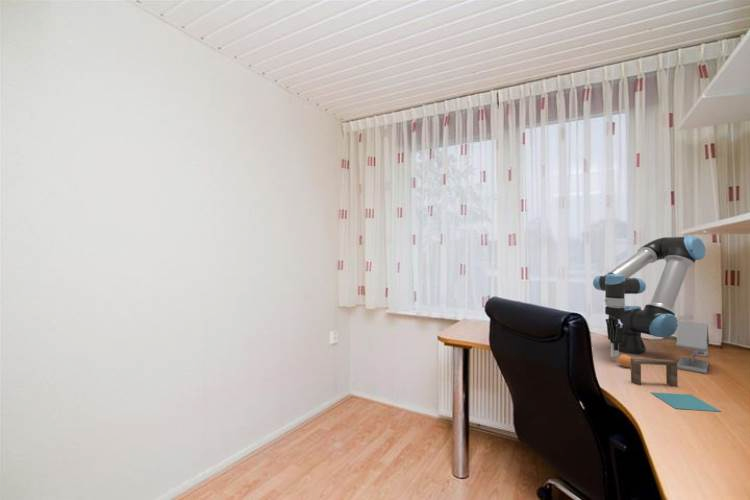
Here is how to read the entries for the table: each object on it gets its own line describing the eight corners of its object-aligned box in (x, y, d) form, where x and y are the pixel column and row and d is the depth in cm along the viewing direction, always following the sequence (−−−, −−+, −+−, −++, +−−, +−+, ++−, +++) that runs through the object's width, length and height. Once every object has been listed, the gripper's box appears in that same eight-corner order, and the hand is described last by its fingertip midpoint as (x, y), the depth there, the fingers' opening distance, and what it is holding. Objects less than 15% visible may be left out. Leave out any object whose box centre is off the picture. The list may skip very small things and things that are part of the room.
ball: (615, 364, 155) (615, 352, 155) (628, 365, 154) (628, 353, 154) (622, 368, 150) (621, 356, 150) (635, 369, 149) (635, 356, 149)
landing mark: (650, 392, 124) (650, 392, 124) (691, 395, 122) (690, 394, 122) (675, 408, 111) (675, 408, 111) (721, 411, 109) (721, 411, 109)
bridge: (631, 381, 135) (630, 358, 135) (672, 383, 133) (671, 360, 133) (635, 384, 132) (635, 360, 132) (677, 386, 130) (677, 362, 130)
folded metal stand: (706, 374, 142) (705, 327, 142) (676, 369, 149) (675, 323, 149) (709, 364, 155) (708, 320, 155) (681, 360, 162) (680, 318, 162)
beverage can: (700, 353, 172) (699, 323, 172) (711, 356, 166) (710, 326, 166) (689, 353, 172) (688, 323, 172) (699, 356, 166) (699, 326, 166)
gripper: (599, 304, 167) (599, 352, 167) (612, 308, 154) (612, 360, 154) (616, 305, 166) (616, 353, 165) (631, 309, 153) (631, 361, 153)
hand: (614, 356), depth 160 cm, fingers closed
